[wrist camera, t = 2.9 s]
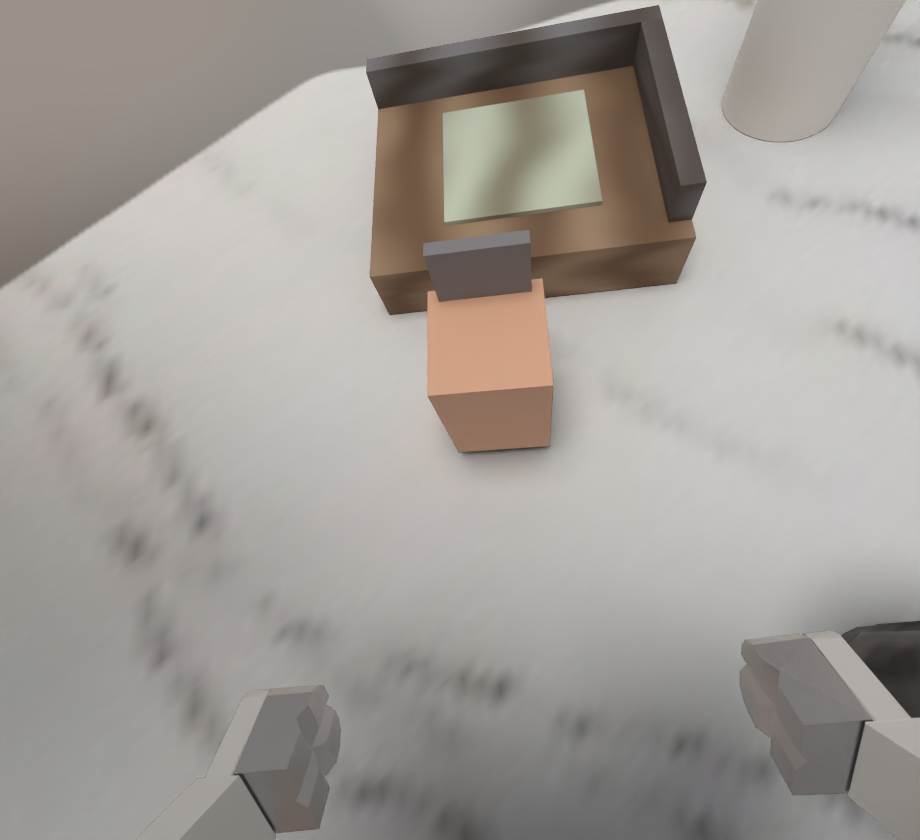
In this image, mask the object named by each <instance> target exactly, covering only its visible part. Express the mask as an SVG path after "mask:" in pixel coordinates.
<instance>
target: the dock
mask: <svg viewBox="0 0 920 840" xmlns="http://www.w3.org/2000/svg"><path fill="white" fill-rule="evenodd" d="M366 73H367V76H368V79H369V82H370V85H371V88H372V91H373V94H374V97H375V100H376V103H377V106H378V128H377V147H376V167H375V186H374V206H373V225H372V245H371V264H370V278H371V280H372V282H373V284H374V286H375V288H376V290H377V291H378V293H379V295H380V297H381V299H382V301H383V303H384V305H385V307H386V308H387V310H388V312H389V314H390V315H391V314H400V313H409V312H419V311H428V292H429V291H435V289H434V286H433V283H432V280H431V277H430V274H429V272H428V269H427V266H426V263H425V260H424V257H423V243H430V242H438V241H446V240H453V239H461V238H469V237H476V236H484V235H492V234H500V233H507V232H515V231H523V230H529V232H530V243H531V280H533V279H541V278H543V288H544V298H546V297H555V296H564V295H573V294H582V293H592V292H601V291H610V290H619V289H628V288H637V287H646V286H655V285H664V284H673V283H677V280H678V278H679V276H680V273H681V271H682V269H683V266H684V264H685V262H686V260H687V257H688V255H689V253H690V250H691V248H692V246H693V243H694V241H695V239H696V235H695V231H694V227H693V223H692V217H693V215H694V212H695V210H696V207H697V205H698V202H699V200H700V197H701V195H702V192H703V190H704V187H705V185H706V178H705V174H704V171H703V167H702V163H701V160H700V156H699V152H698V148H697V145H696V141H695V137H694V134H693V130H692V126H691V122H690V119H689V115H688V111H687V108H686V104H685V100H684V96H683V93H682V89H681V85H680V82H679V78H678V74H677V70H676V67H675V63H674V59H673V56H672V52H671V48H670V45H669V41H668V37H667V33H666V30H665V26H664V22H663V19H662V15H661V11H660V7H659V5H657V6H652V7H646V8H641V9H636V10H630V11H625V12H619V13H614V14H609V15H603V16H598V17H593V18H587V19H582V20H576V21H571V22H566V23H560V24H555V25H550V26H544V27H539V28H533V29H528V30H523V31H517V32H512V33H507V34H501V35H496V36H490V37H485V38H480V39H474V40H469V41H464V42H458V43H453V44H447V45H443V46H437V47H431V48H427V49H421V50H416V51H410V52H404V53H399V54H394V55H389V56H383V57H378V58H372V59H367V67H366Z"/></svg>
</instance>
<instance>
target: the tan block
mask: <svg viewBox="0 0 920 840" xmlns="http://www.w3.org/2000/svg"><path fill="white" fill-rule="evenodd" d="M423 257H424V260H425V263H426V266H427V269H428V272H429V274H430V277H431V280H432V283H433V286H434V289H435V291H429V292H428V398H429V399H430V401H431V403H432V405H433V407H434V408H435V410H436V412H437V414H438V416H439V417H440V419H441V421H442V423H443V425H444V426H445V428H446V430H447V432H448V434H449V436H450V437H451V439H452V441H453V443H454V445H455V446H456V448H457V450H458V452H468V451H483V450H498V449H512V448H527V447H542V446H550V431H551V416H552V400H553V376H552V367H551V357H550V347H549V337H548V327H547V317H546V307H545V298H544V288H543V278H541V279H533V280H531V243H530V232H529V230H523V231H515V232H507V233H500V234H492V235H484V236H476V237H469V238H461V239H453V240H446V241H438V242H430V243H423Z"/></svg>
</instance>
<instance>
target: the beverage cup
mask: <svg viewBox="0 0 920 840" xmlns="http://www.w3.org/2000/svg"><path fill="white" fill-rule="evenodd" d="M842 638H843V639H844V640H845V641H846V642H847V643H848V645H849V646H850V647H851V648H852V649H853V650H854V652H855V653H856V654H857V655H858V656H859V657H860V659H861V660H862V661H863V662H864V663H865V664H866V666H867V667H868V668H869V669H870V670H871V671H872V673H873V674H874V675H875V676H876V677H877V678H878V680H879V681H880V682H881V683H882V684H883V685H884V687H885V688H886V689H887V690H888V691H889V692H890V694H891V695H892V696H893V697H894V698H895V699H896V701H897V702H898V703H899V704H900V705H901V706H902V708H903V709H904V710H905V711H906V712H907V713H908V715H909V716H910V717H911V718H920V621H913V622H898V623H887V624H877V625H875V626H866V627H857V628H855V629H853V630H851V631H849V632H847V633H844V634H843V635H842Z"/></svg>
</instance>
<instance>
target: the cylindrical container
mask: <svg viewBox="0 0 920 840" xmlns="http://www.w3.org/2000/svg"><path fill="white" fill-rule="evenodd" d="M905 1H906V0H758V2H757V5H756V7H755V10H754V13H753V16H752V18H751V21H750V24H749V26H748V29H747V32H746V35H745V37H744V40H743V43H742V46H741V48H740V51H739V54H738V57H737V59H736V62H735V65H734V68H733V70H732V73H731V76H730V78H729V81H728V84H727V87H726V89H725V92H724V95H723V99H722V110H723V112H724V115H725V117H726V119H727V120H728V121H729V123H730V124H731V125H732V126H733V127H735V128H736V129H737V130H739V131H740V132H742V133H744V134H746V135H748V136H751V137H753V138H756V139H760V140H764V141H773V142H788V141H795V140H800V139H804V138H807V137H810V136H812V135H814V134H816V133H818V132H820V131H821V130H823V129H824V128H825V127H827V126H828V125H829V124H830V122H831V121H832V120H833V119H834V117H835V116H836V114H837V112H838V111H839V109H840V107H841V106H842V104H843V102H844V101H845V99H846V97H847V96H848V94H849V93H850V91H851V89H852V88H853V86H854V84H855V83H856V81H857V79H858V78H859V76H860V75H861V73H862V71H863V70H864V68H865V66H866V65H867V63H868V61H869V60H870V58H871V56H872V55H873V53H874V52H875V50H876V48H877V47H878V45H879V43H880V42H881V40H882V38H883V37H884V35H885V34H886V32H887V30H888V29H889V27H890V25H891V24H892V22H893V20H894V19H895V17H896V15H897V14H898V12H899V11H900V9H901V7H902V6H903V4H904V2H905Z"/></svg>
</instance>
